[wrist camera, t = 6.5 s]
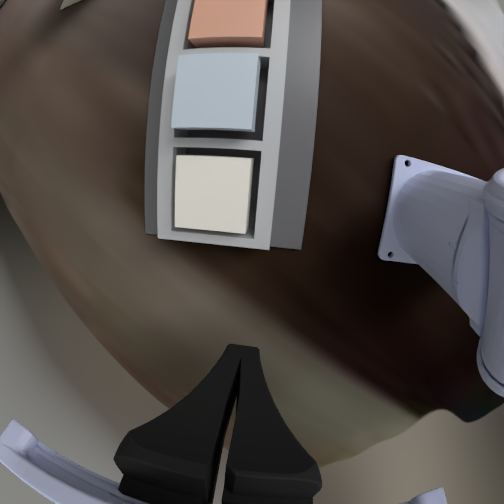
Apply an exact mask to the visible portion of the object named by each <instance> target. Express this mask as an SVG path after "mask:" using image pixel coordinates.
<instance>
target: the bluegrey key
mask: <svg viewBox="0 0 504 504" xmlns="http://www.w3.org/2000/svg"><path fill="white" fill-rule="evenodd" d="M260 64H261V63H260V59H259V54H256V53H207V54H190V55H179V57H178V64H177V72H176V80H175V89H174V99H173V110H172V122H171V128H175V129H181V130H228V131H247V132H255V121H256V109H257V98H258V86H259V75H260Z"/></svg>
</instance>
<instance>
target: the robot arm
mask: <svg viewBox="0 0 504 504" xmlns="http://www.w3.org/2000/svg"><path fill="white" fill-rule="evenodd" d="M406 160H407V161H408V166H405V161H406ZM389 252H392V254H391V255H390V256H388V253H389ZM378 256H379V257H380V259H382V260H387V261H396V262H404V263H413V264H419V265H420V266H421V267H422V268H423V269H424V270H425V271H426V272H427V273H428V274H429V275H430V276H431V277H432V278H433V279H434V280H435V281H436V282H437V283H438V284H439V285H440V286H441V287H442V288H443V289H444V290H445V291H446V292H447V293H448V294H449V295H450V296H451V297H452V298H453V299H454V300H455V301H456V302H457V304H458V305H459V306H460V307H461V308H462V309H463V310H464V312H465V313H466V314H467V315H468V316H469V318H470V326H471V327H472V328H473V329H474V331H475V332H476V333H477V334H478V335H479V337H480V340H479V344H478V349H477V365H478V369H479V372H480V374H481V377H482V379H483V380H484V381H485V383H486V384H487V385H488V386H489V387H490V388H491V389H492V390H493V391H494V392H495V393H497V394H498V395H500V396H502V397H504V168H503V169H500V170H499V171H497V172H496V173H495V174H494V175H493V177H492V178H491V179H490V180H489V181H488V182H485V181H482V180H480V179H477V178H475V177H472V176H469V175H466V174H464V173H461V172H458V171H455V170H452V169H449V168H446V167H442V166H439V165H436V164H433V163H429V162H426V161H422V160H419V159H415V158H411V157H408V156H404V155H397V156H396V157H395V159H394V165H393V172H392V180H391V186H390V193H389V199H388V205H387V210H386V216H385V221H384V226H383V231H382V236H381V240H380V245H379V249H378ZM236 396H237V402H236V418H235V423H234V429H233V434H232V439H231V444H230V449H229V454H228V459H227V464H226V472H225V483H224V490H223V495H222V504H313V496H314V495H316V493H318V491H320V490H321V488H322V479H321V475H320V471H319V468H318V465H317V462H316V461H315V460H314V459H313V458H312V457H311V456H310V455H309V454H308V453H307V451H306V450H305V449H304V448H303V447H302V446H301V444H300V443H299V442H298V441H297V439H296V438H295V437H294V435H293V434H292V432H291V431H290V429H289V428H288V427H287V425H286V424H285V422H284V420H283V418H282V417H281V415H280V413H279V411H278V409H277V407H276V405H275V403H274V401H273V399H272V397H271V394H270V392H269V389H268V387H267V384H266V381H265V377H264V374H263V371H262V366H261V362H260V355H259V349H258V348H257V347H250V346H243V345H236V344H229V345H227V347H226V349H225V351H224V353H223V355H222V356H221V358H220V359H219V360H218V362H217V363H216V365H215V366H214V367H213V368H212V370H211V371H210V372H209V374H208V375H207V376H206V377H205V378H204V379H203V380H202V381H201V382H200V384H199V385H198V386H197V387H196V388H195V389H194V390H193V391H191V392H190V393H189V394H188V395H187V396H186V397H185V398H184V399H182V400H181V401H180V402H178V403H177V404H176V405H175V406H173V407H172V408H171V409H169V410H168V411H166V412H165V413H163V414H161V415H160V416H158V417H156V418H155V419H153V420H151V421H149V422H148V423H145V424H144V425H141V426H139V427H137V428H135V429H133V430H131V431H129V432H128V433H127V435H126V436H125V437H124V439H123V440H122V442H121V443H120V445H119V447H118V449H117V452H116V454H115V456H114V461H115V463H116V465H117V466H118V468H119V469H120V470H121V472H122V473H123V474H124V475H123V478H122V480H121V483H120V484H119V483H117V482H114V481H112V480H110V479H107V478H105V477H103V476H101V475H99V474H96V473H94V472H92V471H90V470H88V469H86V468H84V467H82V466H80V465H78V464H76V463H74V462H73V461H71V460H69V459H67V458H65V457H64V456H62V455H60V454H58V453H57V452H55V451H53V450H52V449H50V448H48V447H47V446H45V445H44V444H42V443H41V442H39V441H38V439H37V438H36V437H35V435H34V434H33V433H32V432H30V431H29V430H28V429H27V428H25V427H24V426H23V425H21V424H20V423H19V422H17V421H16V420H14V419H12V421H11V422H10V424H9V425H8V426H7V428H6V429H5V430H4V432H3V433H2V435H1V436H0V462H1V463H3V464H4V465H5V466H6V467H7V468H8V469H9V470H10V471H12V472H13V473H14V474H15V475H16V476H17V477H19V478H20V479H21V480H23V481H24V482H25V483H26V484H28V485H29V486H31V487H32V488H33V489H35V490H36V491H37V492H39V493H40V494H42V495H43V496H45V497H46V498H48V499H49V500H51V501H52V502H54V503H55V504H213V498H214V493H215V487H216V481H217V476H218V470H219V464H220V459H221V454H222V448H223V443H224V438H225V434H226V431H227V427H228V424H229V421H230V417H231V414H232V410H233V407H234V403H235V400H236ZM401 504H447V501H446V497H445V494H444V490H443V488H442V487H440V488H437V489H434V490H431V491H428V492H425V493H423V494H420V495H418V496H416V497H414V498H413V499H411V500H410V501H408V502H404V503H401Z"/></svg>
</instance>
